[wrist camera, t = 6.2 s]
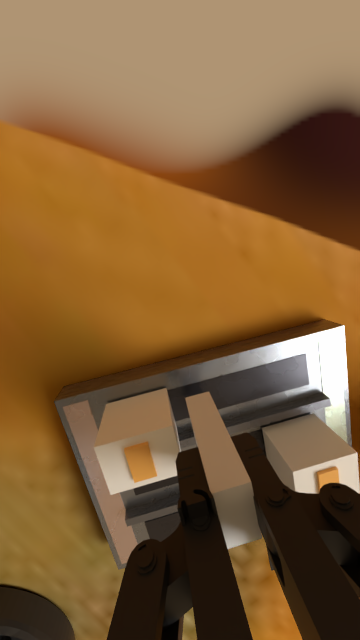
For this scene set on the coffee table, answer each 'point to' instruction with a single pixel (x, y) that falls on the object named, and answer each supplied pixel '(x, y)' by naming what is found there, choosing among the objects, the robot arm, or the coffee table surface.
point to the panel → (232, 404)
